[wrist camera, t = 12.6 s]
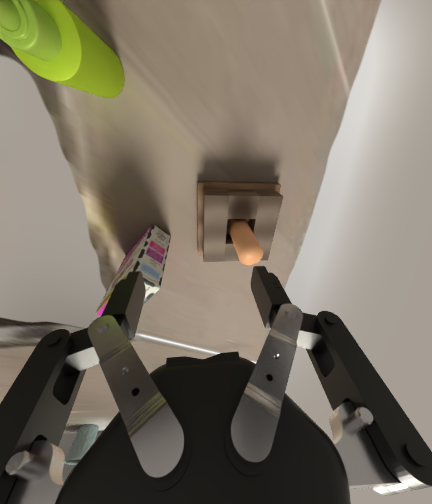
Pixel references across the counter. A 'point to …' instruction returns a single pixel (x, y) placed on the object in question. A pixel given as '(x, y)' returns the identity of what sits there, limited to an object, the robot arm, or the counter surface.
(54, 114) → the counter surface
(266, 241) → the socket block
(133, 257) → the candy bar box
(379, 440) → the robot arm
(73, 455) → the teal embossed pot
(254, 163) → the counter surface
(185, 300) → the counter surface
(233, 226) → the wooden pin
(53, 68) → the soap dispenser
